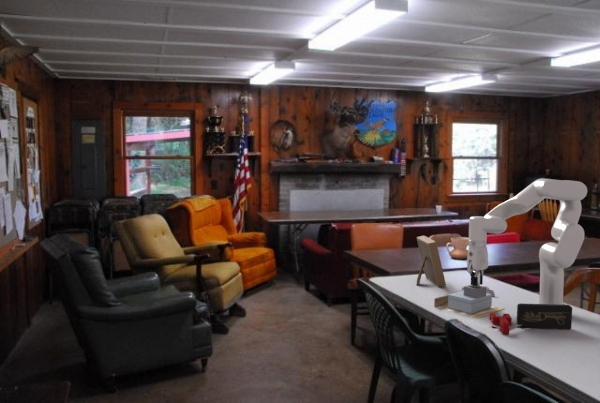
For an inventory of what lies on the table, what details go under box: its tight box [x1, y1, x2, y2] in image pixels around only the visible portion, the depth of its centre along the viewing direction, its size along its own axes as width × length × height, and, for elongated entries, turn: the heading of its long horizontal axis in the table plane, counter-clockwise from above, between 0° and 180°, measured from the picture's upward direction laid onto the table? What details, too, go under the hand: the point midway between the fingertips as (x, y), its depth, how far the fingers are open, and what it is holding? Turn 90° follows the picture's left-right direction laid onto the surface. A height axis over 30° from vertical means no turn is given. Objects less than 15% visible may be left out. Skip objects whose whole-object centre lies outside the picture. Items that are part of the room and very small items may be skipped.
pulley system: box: [461, 285, 496, 298], centre depth 264 cm, size 27×5×15 cm
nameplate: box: [516, 302, 573, 331], centre depth 214 cm, size 21×2×10 cm, turn 84°
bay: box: [433, 294, 505, 321], centre depth 238 cm, size 22×22×6 cm
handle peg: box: [473, 271, 481, 288], centre depth 234 cm, size 3×3×10 cm
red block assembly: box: [489, 312, 513, 335], centre depth 213 cm, size 16×7×5 cm, turn 170°
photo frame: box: [416, 235, 447, 288], centre depth 292 cm, size 15×22×25 cm
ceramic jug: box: [445, 236, 469, 260], centre depth 363 cm, size 18×14×14 cm
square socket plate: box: [447, 284, 493, 314], centre depth 237 cm, size 12×16×10 cm
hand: (476, 284), depth 234 cm, fingers closed on handle peg, 3 cm apart
